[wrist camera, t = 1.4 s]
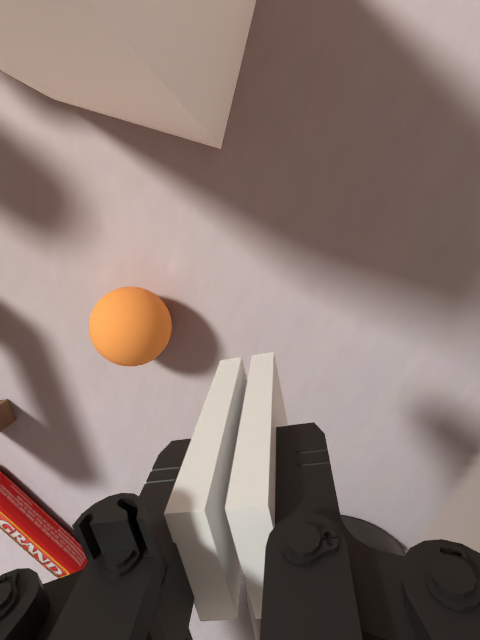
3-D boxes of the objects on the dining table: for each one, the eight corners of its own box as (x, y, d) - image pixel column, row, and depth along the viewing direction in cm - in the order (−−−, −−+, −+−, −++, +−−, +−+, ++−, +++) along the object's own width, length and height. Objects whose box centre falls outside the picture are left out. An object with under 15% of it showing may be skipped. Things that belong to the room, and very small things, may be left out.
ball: (188, 342, 28) (167, 373, 23) (123, 352, 29) (89, 385, 24) (169, 273, 27) (143, 291, 21) (101, 286, 28) (60, 306, 22)
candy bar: (-34, 465, 35) (-62, 488, 32) (-12, 447, 34) (-38, 469, 31) (83, 570, 38) (67, 600, 35) (106, 556, 37) (92, 586, 34)
